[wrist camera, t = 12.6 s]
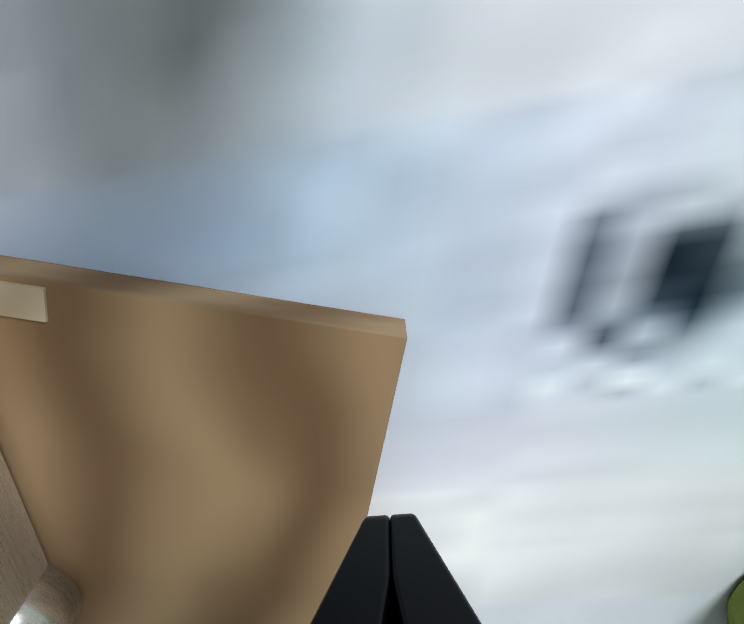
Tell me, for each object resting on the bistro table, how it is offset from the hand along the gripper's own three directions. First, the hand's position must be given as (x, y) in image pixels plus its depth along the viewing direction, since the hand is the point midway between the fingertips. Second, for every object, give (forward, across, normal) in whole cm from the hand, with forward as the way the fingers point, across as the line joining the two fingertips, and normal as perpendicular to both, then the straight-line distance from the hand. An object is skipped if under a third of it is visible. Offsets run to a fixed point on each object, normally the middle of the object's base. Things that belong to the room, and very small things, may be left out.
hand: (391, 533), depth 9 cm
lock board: (+11, +13, +9) cm, 19 cm away
